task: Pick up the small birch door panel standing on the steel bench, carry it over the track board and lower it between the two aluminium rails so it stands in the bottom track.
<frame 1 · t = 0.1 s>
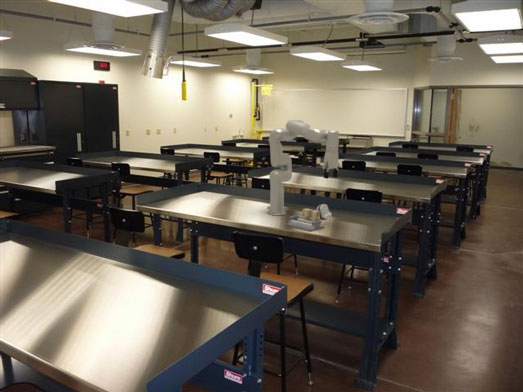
hand: (330, 177, 284), 31 cm above the workbench, tool pointing down, fingers open, 9 cm apart
door panel: (310, 223, 294), on the workbench
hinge: (323, 217, 314), on the workbench
track board: (304, 226, 285), on the workbench
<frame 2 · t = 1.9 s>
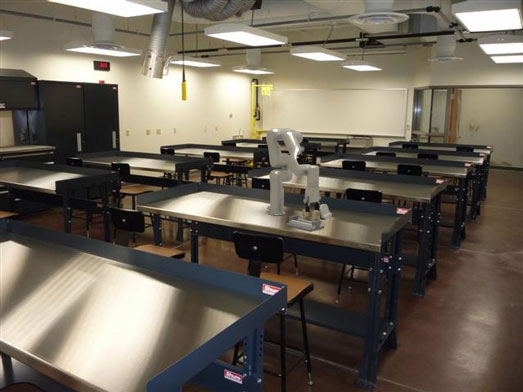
hand: (312, 211, 292), 8 cm above the workbench, tool pointing down, fingers open, 9 cm apart
nothing on the workbench moved.
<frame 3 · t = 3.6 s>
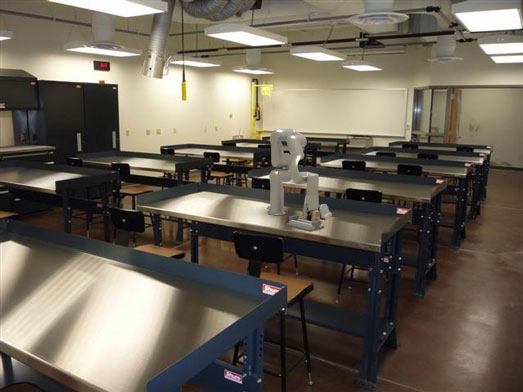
hand: (311, 220, 293), 2 cm above the workbench, tool pointing down, fingers closed on door panel, 3 cm apart
door panel: (310, 223, 294), on the workbench, touching gripper
everything else where it was.
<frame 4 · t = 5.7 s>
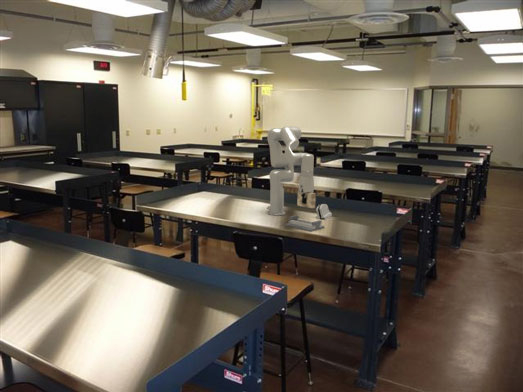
hand: (306, 203, 282), 15 cm above the workbench, tool pointing down, fingers closed on door panel, 3 cm apart
door panel: (306, 206, 282), point 13 cm above the workbench, touching gripper
everything else where it was.
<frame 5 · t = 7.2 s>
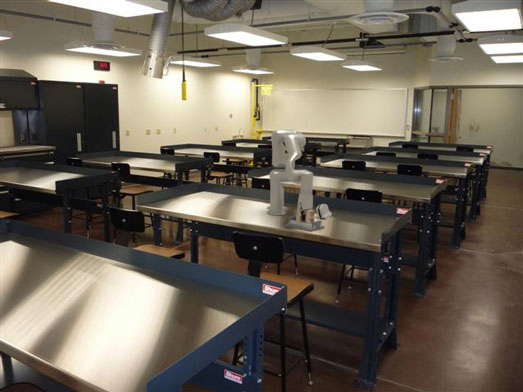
hand: (305, 219, 284), 4 cm above the workbench, tool pointing down, fingers closed on door panel, 3 cm apart
door panel: (304, 223, 284), point 2 cm above the workbench, touching gripper
everything else where it was.
when the fingers open (4 cm above the workbench, at t = 8.1 s): door panel stays where it is, resting on track board.
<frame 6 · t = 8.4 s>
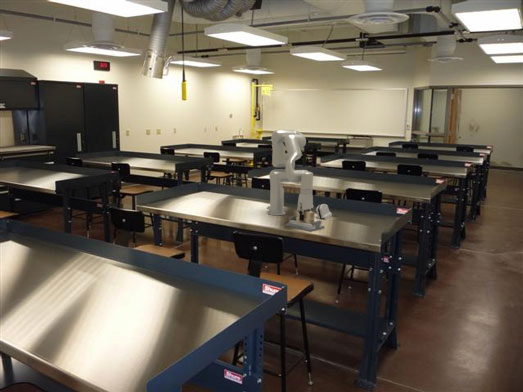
hand: (305, 219, 284), 5 cm above the workbench, tool pointing down, fingers open, 6 cm apart
door panel: (304, 224, 285), point 1 cm above the workbench, touching track board
everything else where it was.
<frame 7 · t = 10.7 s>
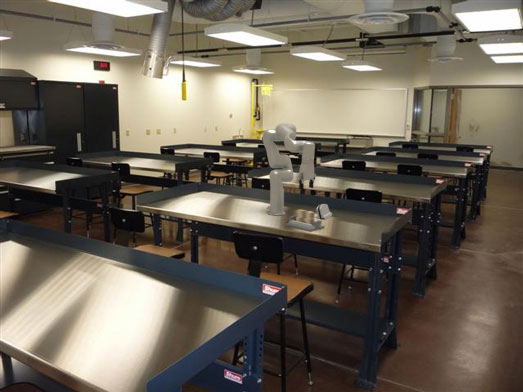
hand: (306, 188, 286), 24 cm above the workbench, tool pointing down, fingers open, 9 cm apart
nothing on the workbench moved.
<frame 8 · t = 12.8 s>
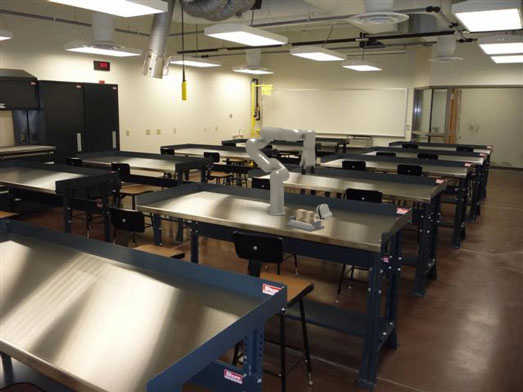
hand: (307, 174, 304), 30 cm above the workbench, tool pointing down, fingers open, 9 cm apart
nothing on the workbench moved.
at the end: door panel inside the target area on the track board (0.1 cm from its centre), point 1.2 cm above the track board's base; door panel tilted 0°; the gripper is holding nothing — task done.
